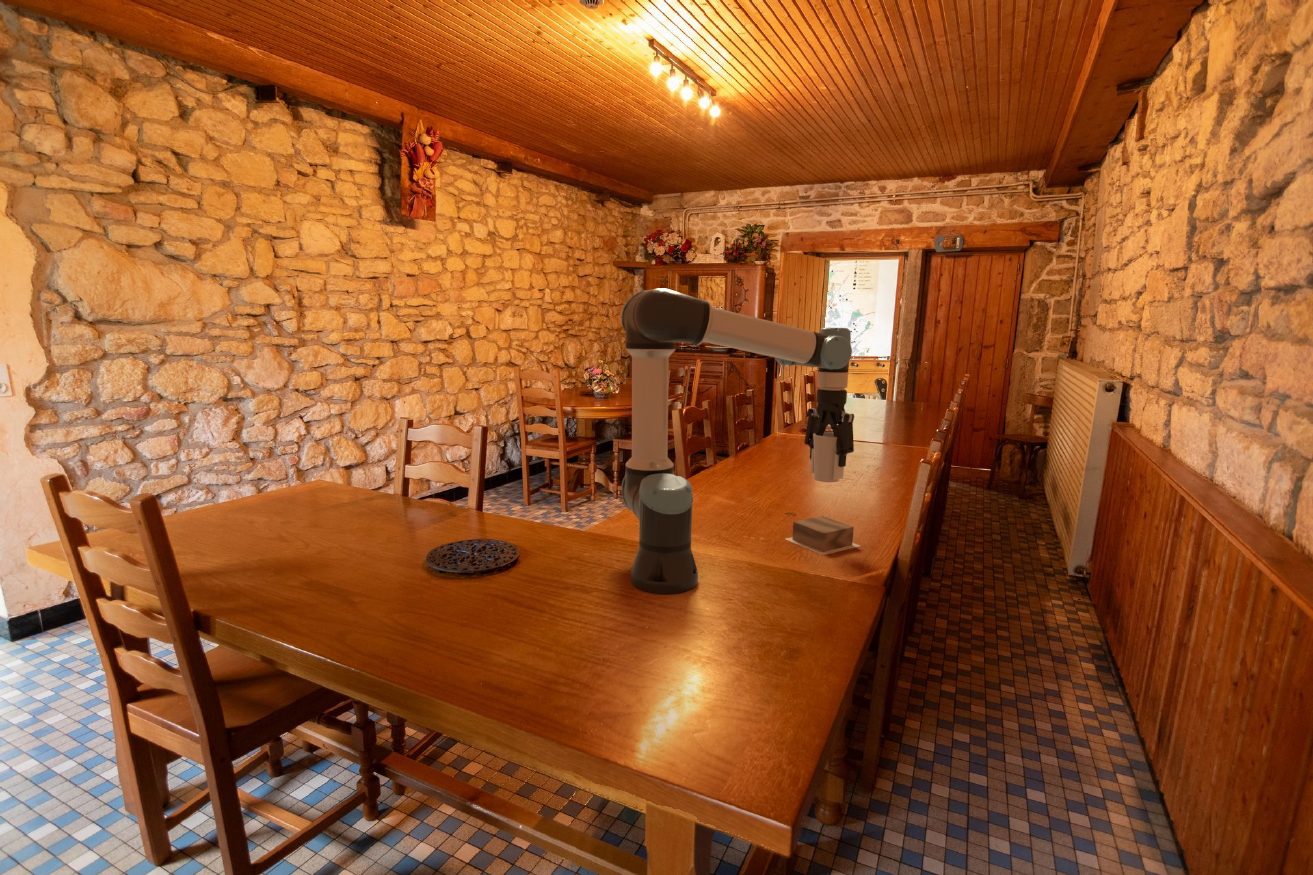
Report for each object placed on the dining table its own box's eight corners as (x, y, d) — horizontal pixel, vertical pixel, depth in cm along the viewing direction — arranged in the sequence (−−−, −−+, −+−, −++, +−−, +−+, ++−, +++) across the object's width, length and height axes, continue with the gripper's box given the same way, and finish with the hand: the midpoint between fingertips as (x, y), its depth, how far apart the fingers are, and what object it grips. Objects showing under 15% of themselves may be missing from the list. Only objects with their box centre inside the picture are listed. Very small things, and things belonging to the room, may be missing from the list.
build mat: (822, 557, 155) (823, 554, 155) (784, 540, 167) (784, 538, 167) (860, 547, 162) (860, 545, 162) (821, 532, 174) (821, 530, 174)
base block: (822, 552, 157) (824, 533, 156) (792, 539, 166) (793, 521, 166) (852, 545, 163) (853, 526, 162) (821, 533, 172) (822, 516, 171)
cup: (835, 484, 156) (838, 438, 154) (805, 479, 161) (808, 434, 159) (846, 479, 162) (849, 434, 160) (817, 474, 167) (820, 431, 165)
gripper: (874, 391, 151) (867, 482, 155) (813, 384, 168) (808, 466, 172) (853, 392, 147) (846, 485, 151) (793, 385, 164) (788, 469, 168)
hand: (826, 475), depth 161 cm, fingers closed on cup, 7 cm apart
